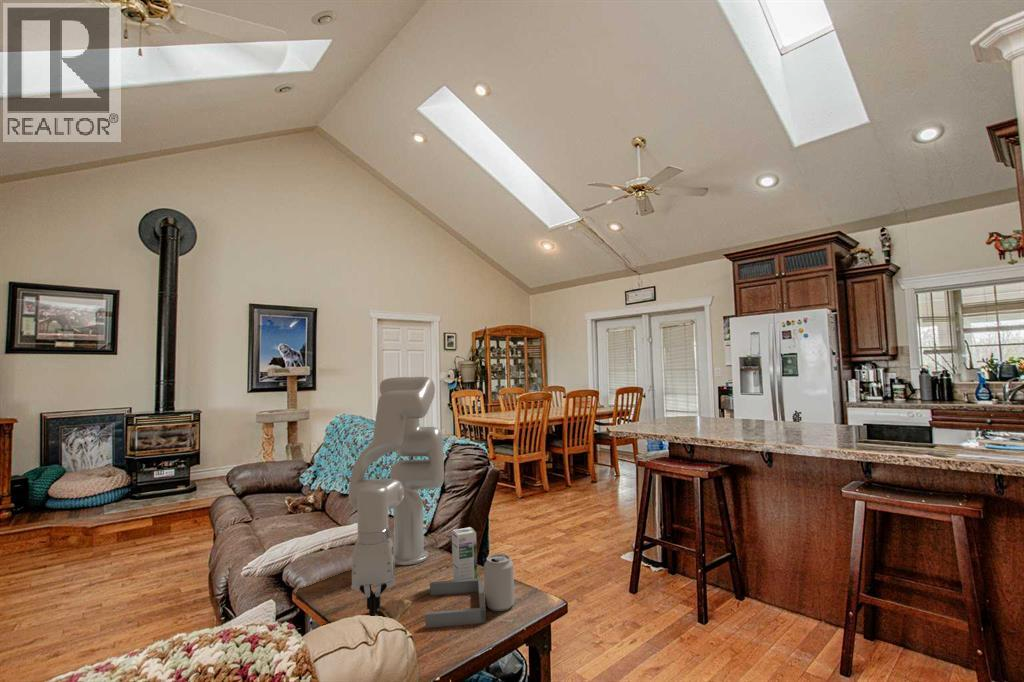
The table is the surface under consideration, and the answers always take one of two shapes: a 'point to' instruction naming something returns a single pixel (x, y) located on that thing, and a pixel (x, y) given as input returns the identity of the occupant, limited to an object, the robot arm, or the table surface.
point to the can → (499, 582)
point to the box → (462, 614)
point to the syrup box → (464, 554)
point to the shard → (395, 608)
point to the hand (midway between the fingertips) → (373, 611)
